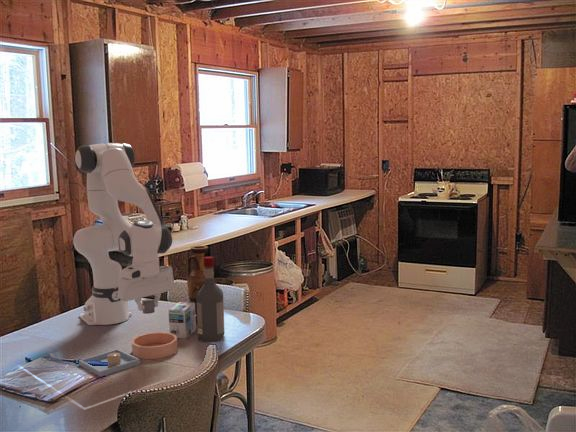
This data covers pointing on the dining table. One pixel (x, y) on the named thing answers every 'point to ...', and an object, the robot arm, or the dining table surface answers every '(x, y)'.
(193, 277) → the vase
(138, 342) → the bowl
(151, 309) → the grey cube
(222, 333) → the liquor
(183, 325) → the light bulb box
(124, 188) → the robot arm
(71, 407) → the dining table surface
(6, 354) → the dining table surface
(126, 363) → the parts tray
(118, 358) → the tan wooden cube
